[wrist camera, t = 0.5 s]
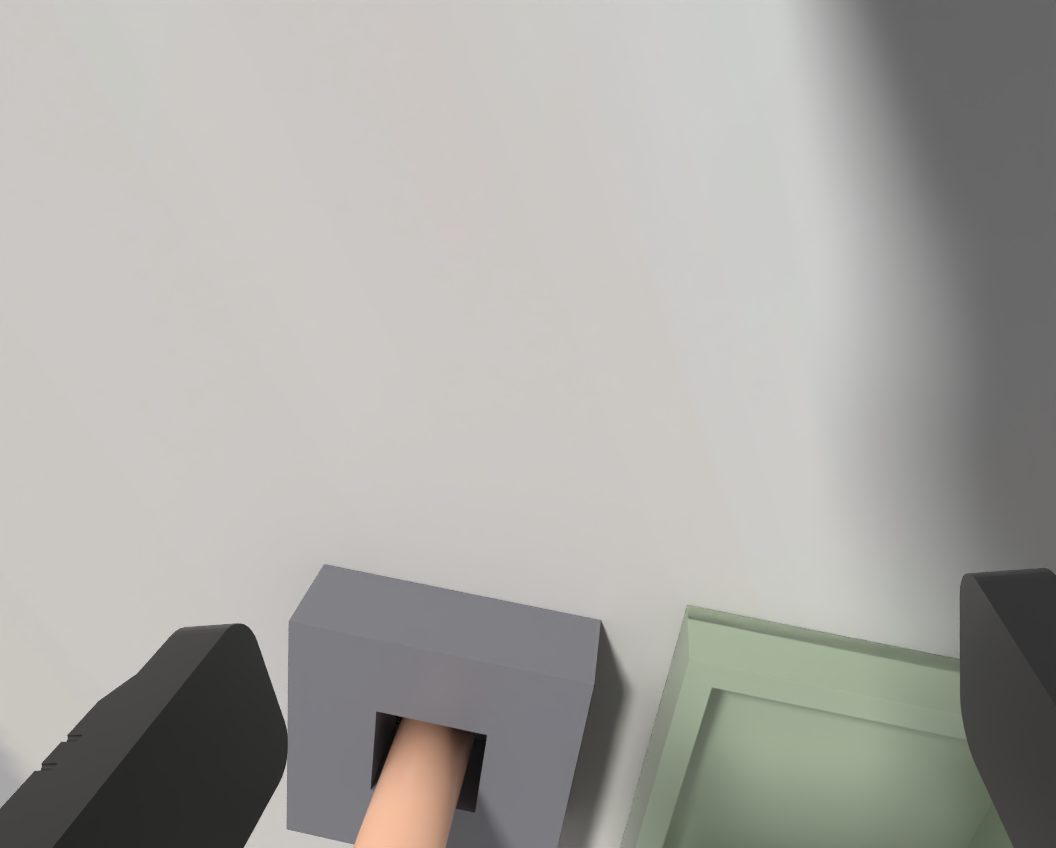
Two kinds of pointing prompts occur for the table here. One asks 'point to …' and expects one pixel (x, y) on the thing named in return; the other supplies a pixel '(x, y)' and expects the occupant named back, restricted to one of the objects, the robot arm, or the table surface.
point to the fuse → (417, 787)
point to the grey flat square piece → (435, 703)
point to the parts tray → (807, 745)
